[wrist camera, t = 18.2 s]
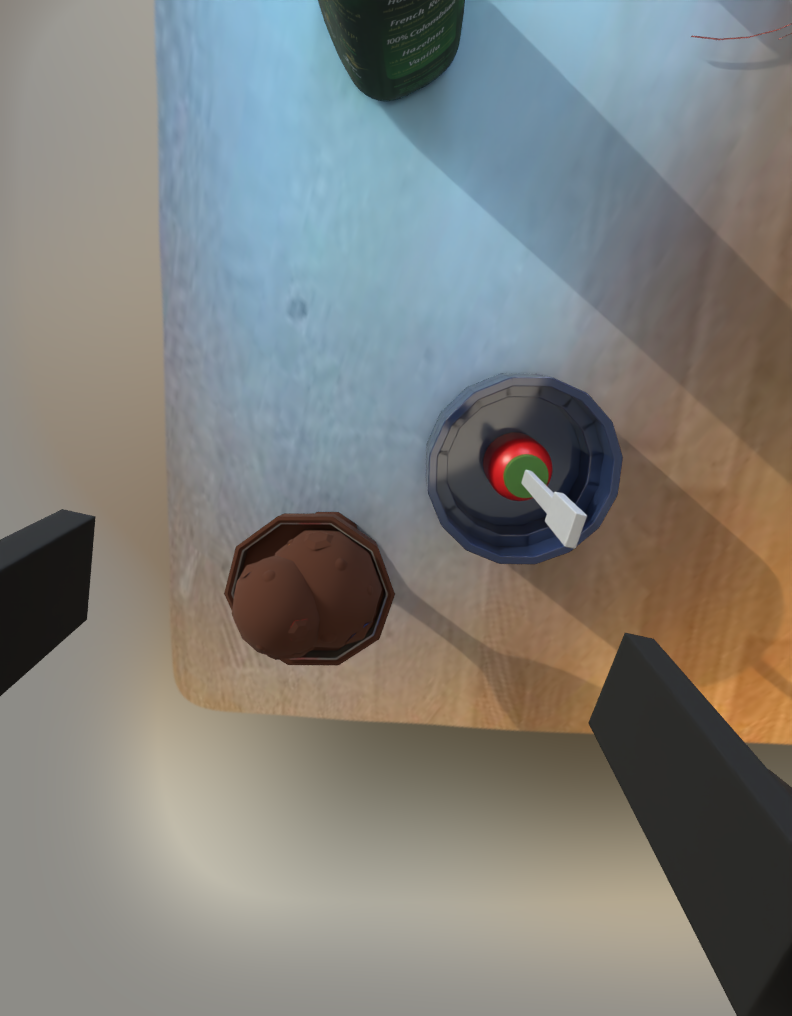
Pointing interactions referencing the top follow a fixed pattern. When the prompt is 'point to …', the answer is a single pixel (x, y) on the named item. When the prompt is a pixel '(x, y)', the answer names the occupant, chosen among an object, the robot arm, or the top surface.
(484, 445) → the dessert bowl
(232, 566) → the ice cream bowl
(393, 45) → the coffee jar
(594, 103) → the top surface
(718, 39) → the figurine
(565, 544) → the red candy apple
